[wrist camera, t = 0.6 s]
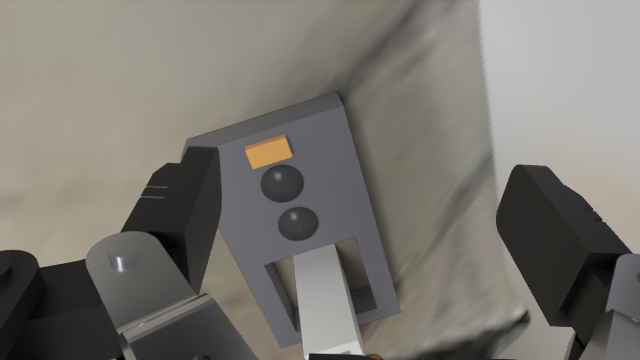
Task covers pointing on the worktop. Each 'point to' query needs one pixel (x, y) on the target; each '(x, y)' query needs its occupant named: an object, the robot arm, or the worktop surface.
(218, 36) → the worktop surface
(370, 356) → the coffee package
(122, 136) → the worktop surface
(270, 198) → the power strip
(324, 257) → the plate
